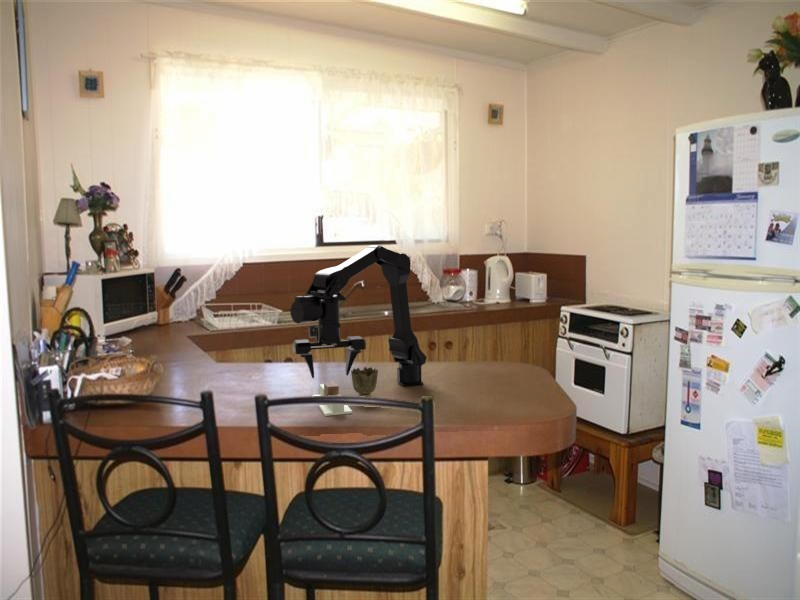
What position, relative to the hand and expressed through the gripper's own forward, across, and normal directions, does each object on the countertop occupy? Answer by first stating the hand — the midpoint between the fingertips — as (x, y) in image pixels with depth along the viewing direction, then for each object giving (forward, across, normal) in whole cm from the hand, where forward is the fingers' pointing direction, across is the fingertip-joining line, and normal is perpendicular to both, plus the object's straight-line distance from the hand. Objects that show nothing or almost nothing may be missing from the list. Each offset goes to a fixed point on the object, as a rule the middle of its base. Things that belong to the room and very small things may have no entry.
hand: (330, 376), depth 169 cm
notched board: (+8, 0, 0) cm, 8 cm away
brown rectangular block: (+7, 0, 0) cm, 7 cm away
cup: (+8, -10, -3) cm, 13 cm away
